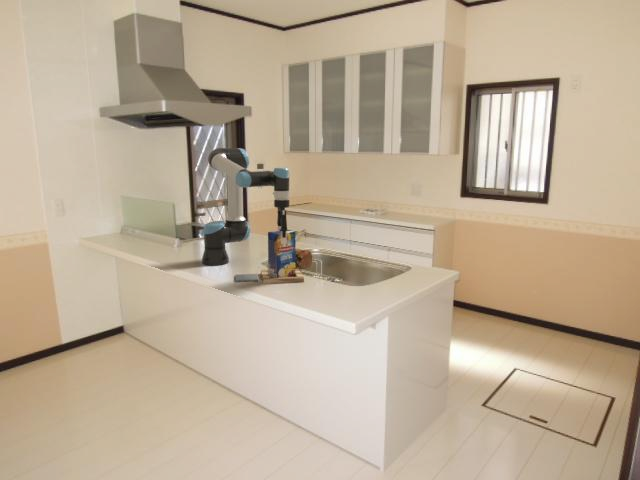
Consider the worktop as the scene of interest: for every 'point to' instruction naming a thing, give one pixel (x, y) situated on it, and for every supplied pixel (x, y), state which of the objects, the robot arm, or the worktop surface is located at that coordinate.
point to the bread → (302, 259)
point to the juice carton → (281, 255)
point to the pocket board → (297, 278)
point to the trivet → (246, 277)
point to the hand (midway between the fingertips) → (282, 241)
